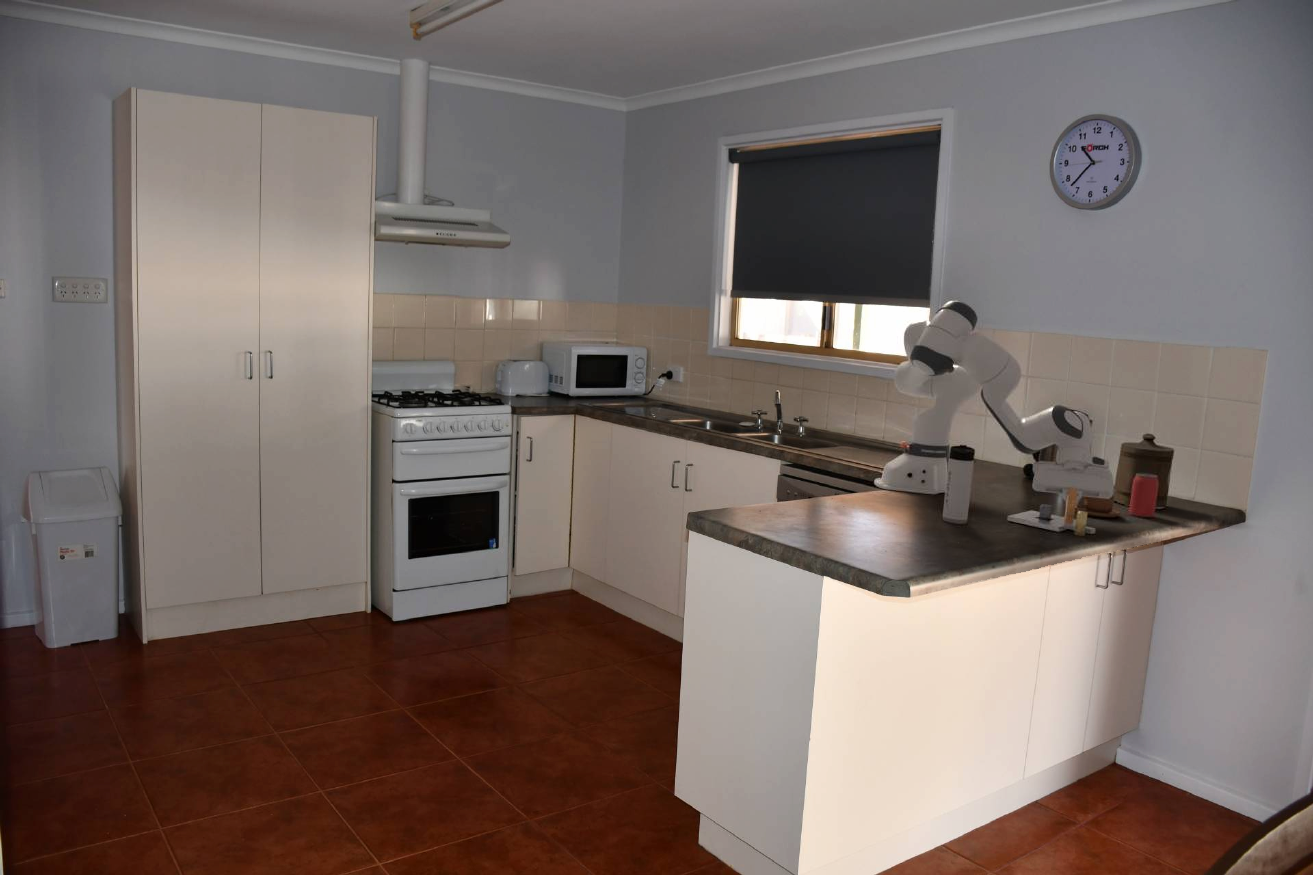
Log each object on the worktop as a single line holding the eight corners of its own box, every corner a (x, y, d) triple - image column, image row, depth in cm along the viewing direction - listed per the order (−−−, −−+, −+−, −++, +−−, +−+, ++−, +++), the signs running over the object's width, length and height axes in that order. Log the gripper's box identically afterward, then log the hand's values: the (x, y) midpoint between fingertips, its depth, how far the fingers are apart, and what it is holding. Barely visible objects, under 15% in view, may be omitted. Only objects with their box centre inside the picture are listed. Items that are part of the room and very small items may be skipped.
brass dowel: (1076, 535, 252) (1079, 512, 251) (1073, 533, 255) (1076, 510, 254) (1086, 536, 252) (1089, 513, 251) (1082, 533, 255) (1085, 511, 254)
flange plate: (1007, 520, 264) (1011, 483, 262) (1030, 514, 274) (1035, 478, 272) (1081, 536, 250) (1086, 497, 248) (1103, 530, 260) (1109, 492, 258)
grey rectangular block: (1040, 524, 262) (1042, 506, 262) (1036, 522, 265) (1038, 504, 265) (1051, 525, 262) (1054, 507, 262) (1047, 523, 265) (1050, 504, 265)
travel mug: (967, 520, 262) (975, 446, 259) (966, 525, 256) (975, 449, 253) (943, 517, 264) (951, 443, 261) (941, 521, 258) (949, 446, 255)
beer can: (1153, 515, 286) (1159, 474, 284) (1154, 519, 280) (1160, 478, 278) (1128, 511, 289) (1134, 471, 287) (1128, 515, 283) (1134, 474, 281)
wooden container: (1177, 509, 297) (1187, 437, 294) (1137, 510, 293) (1147, 436, 289) (1140, 499, 311) (1150, 430, 308) (1101, 499, 307) (1110, 429, 303)
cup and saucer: (1100, 521, 273) (1103, 499, 272) (1065, 511, 284) (1068, 490, 283) (1129, 519, 279) (1132, 498, 278) (1093, 509, 289) (1096, 489, 288)
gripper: (1034, 453, 271) (1031, 494, 264) (1115, 461, 265) (1114, 504, 257) (1032, 466, 276) (1029, 507, 269) (1111, 475, 270) (1110, 517, 262)
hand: (1071, 506), depth 263 cm, fingers closed, pressing on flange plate
